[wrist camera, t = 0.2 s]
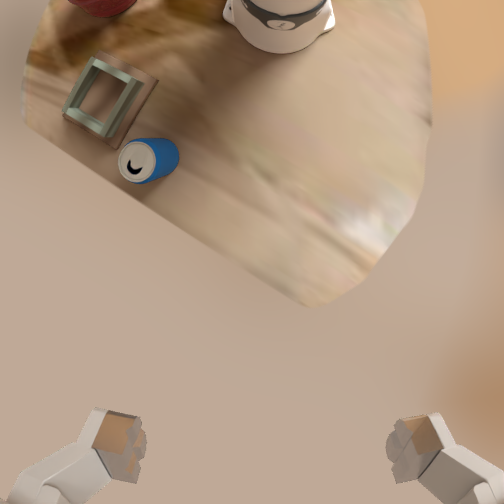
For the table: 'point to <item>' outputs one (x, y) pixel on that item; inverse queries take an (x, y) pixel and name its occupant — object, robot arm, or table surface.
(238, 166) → the table surface
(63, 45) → the table surface
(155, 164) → the beverage can
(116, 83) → the cradle
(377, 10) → the table surface
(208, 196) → the table surface
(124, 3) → the canister
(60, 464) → the robot arm
